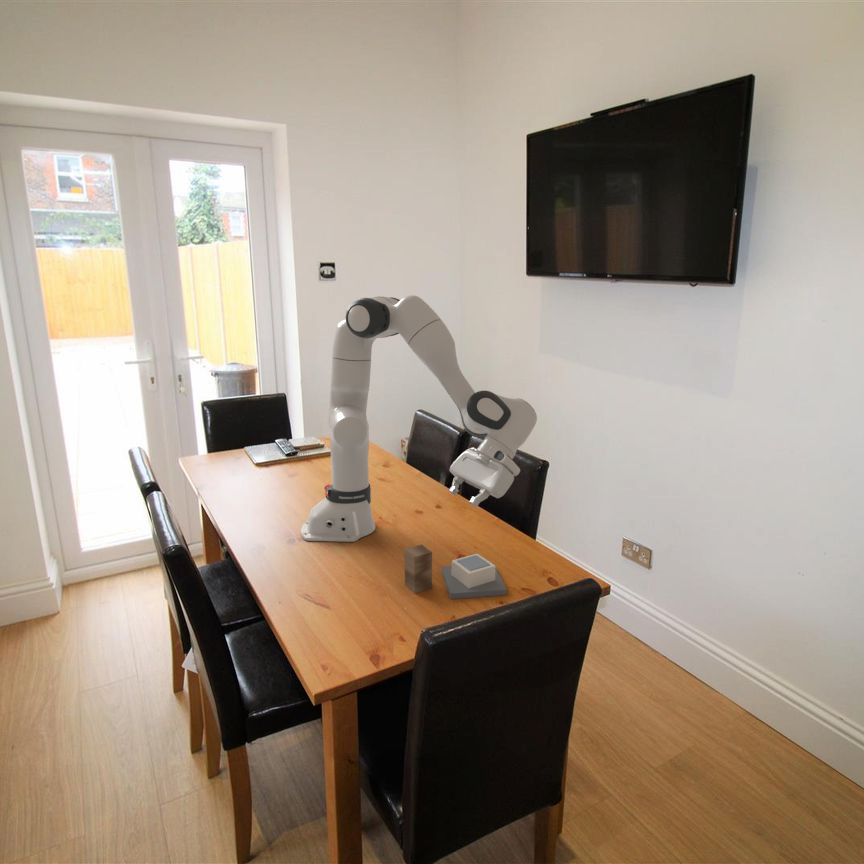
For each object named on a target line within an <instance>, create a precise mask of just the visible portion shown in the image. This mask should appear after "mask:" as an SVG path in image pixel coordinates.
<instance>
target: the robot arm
mask: <svg viewBox="0 0 864 864" xmlns="http://www.w3.org/2000/svg"><path fill="white" fill-rule="evenodd" d="M396 335H400V336H401V338H403V340H404V342H406V343H407V345H408V347H409V348H410V350H411V351H412V352H413V353H414V354H415V355H416V357H418V359H419V360H420V361H421V362H422V363H423V364H424V365H425V366H426V367H427V368H428V370H429V371H430V372H431V373H432V375H434V376H435V378H436V379H437V380H438V382H440V384H441V385H442V387H443V388H444V389H445V391H446V392H447V394H448V396H449V397H450V398H451V399H452V401H453V402H454V404H455V405H456V407H457V408H458V410H459V413H460V418H461V422H462V426H463V427H464V429H465V431H466V432H467V433H468V434H469V435H471V436H473V437H475V438H479V439H481V438H484V439H483V440H482V442H480V444H479V446H477V448H476V447H474V446H473V447H471V448H468V449H465V451H463V452H462V453H461V454H460V455H459V456H458V457H457V458H456V459H455V460H454V461H453V462H452V463H451V465H450V467H449V472H450V473H451V474H452V475H453V476H454V477H453V478H452V479H453V480H452V483H451V486H450V487H449V489H448V492H449V494H451V495H453V496H457V494H458V493H459V491H460V490H459V487H460V485H462V484H463V482H465V483H467V484H468V485H470V486H472V487H474V488H476V489H479V493H478V494H477V495H476V496H471V498H470V500H469V501H468V502H469V504H470V505H471V506H473V507H475V508H477V507H478V506H479V505H480V503H481V502H483V501H485V500H486V499H488V498H489V496H491V497H494V498H496V499H500V498H502V497H503V496H504V495H505V494H506V493H507V491H509V489H510V487H511V486H512V484H513V482H515V481H514V480H515V477H517V476H519V474H520V473H521V469H520V467H519V466H518V465H517V464H516V462H515V461H513V459H514V457H515V456H516V453H517V451H518V449H519V448H520V446H521V447H522V445H523V444H524V443H525V442H526V441H527V439H528V438H529V436H530V435H531V433H532V431H534V430H533V429H534V428H535V426H536V424H537V421H538V415H537V412H536V411H535V409H534V408H533V406H532V405H531V404H530V403H528V402H527V401H526V400H524V399H522V398H517V397H516V398H510V397H506V396H502V395H500V394H499V395H498V394H496V393H494V392H492V391H490V390H478V391H475V390H474V389H473V387H472V385H471V384H470V383H469V382H468V380H467V378H466V377H465V375H464V374H463V373H462V371H461V369H460V366H459V363H458V358H457V350H456V349H457V348H456V343H455V340H454V338H453V336H452V334H451V332H450V330H449V329H448V327H447V326H446V323H444V321H443V320H442V319H441V317H440V316H439V315H438V313H437V312H436V311H435V310H434V309H433V308H432V306H430V305H429V304H428V303H427V302H426V301H425V300H424V299H422V298H421V297H419V296H417V295H408V296H404V297H403V298H400V299H399V298H396V297H389V296H388V297H387V296H380V295H379V296H374V297H363V298H362V297H361V298H360V299H356V300H354V301H353V302H351V303H350V304H349V306H348V307H347V310H346V312H345V319H343V320H341V321H340V322H339V323H338V324H337V326H336V330H335V334H334V339H333V345H332V346H333V347H332V356H331V357H332V358H331V376H330V377H331V379H330V393H329V408H328V409H329V410H328V411H329V412H328V425H329V439H330V442H329V443H330V466H331V467H330V468H331V469H330V472H331V484H330V482H329V483H325V484H324V487H323V488H324V492H325V498H323V499H322V500H321V501H319V502H318V503H317V504H315V505H314V506H313V507H312V508H311V510H310V512H309V514H308V518H307V520H306V521H305V522H304V523H303V524H302V525H301V529H300V535H302V536H301V538H302V537H303V538H302V539H303V540H305V541H308V542H309V541H310V542H341V543H342V542H347V543H348V542H349V543H350V542H351V543H352V542H353V543H354V542H357V541H359V539H361V538H363V537H366V536H369V535H370V534H372V533H373V532H374V531H375V530H376V524H375V521H374V518H373V513H372V506H371V501H372V488H371V484H370V477H369V475H370V474H369V453H370V452H369V449H370V446H369V445H370V439H369V438H370V434H369V433H370V431H369V428H370V426H369V422H368V419H367V406H368V398H369V390H370V383H371V369H372V368H371V365H372V349H373V348H372V347H373V343H374V341H376V339H383V338H388V337H393V336H396Z"/></svg>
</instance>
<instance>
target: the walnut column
mask: <svg viewBox="0 0 864 864" xmlns="http://www.w3.org/2000/svg"><path fill="white" fill-rule="evenodd" d="M404 586H406V588H408V589H409V591H410V592H412V593H413V594H415V595H416V594H418V593H422V592H426V591H428V590H432V589H433V551H431V550H430V549H429V548H427V547H426V546H425V545H423V544H419V545H414V546H412V547H411V546H410V547H406V548H404Z"/></svg>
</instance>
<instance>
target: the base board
mask: <svg viewBox="0 0 864 864" xmlns="http://www.w3.org/2000/svg"><path fill="white" fill-rule="evenodd" d="M441 574H442V577H443V580H444V584H445V587H446V590H447V592H448V596H449V598H450V600H455V599H456V600H457V599H458V600H459V599H471V598H481V597H482V598H483V597H485V598H486V597H496V596H497V597H498V596H507V595H508V594H507V593H508V589H507V587H506V585H505V583H504V581H503V579H502V577H501V575H500V573H499V571H498V569H497V567H496V565H495V563H494V562H491V561H489V560H488V559H486V558H484V557H483V556H482V555H481V554H480V553H474V554H470V555H466V556H463V557H459V558H456V559H453V560H451V565H442V566H441Z"/></svg>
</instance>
